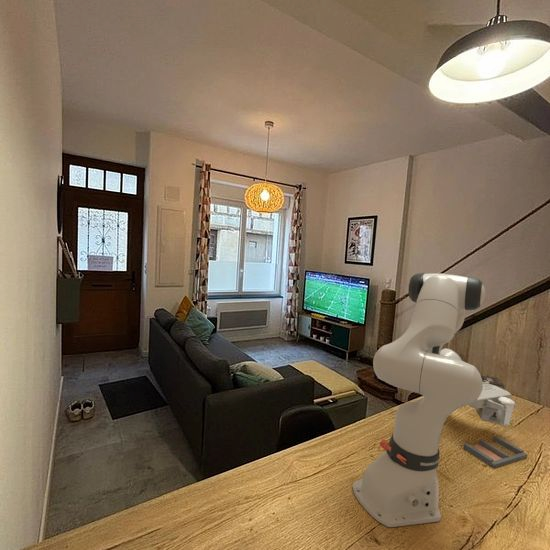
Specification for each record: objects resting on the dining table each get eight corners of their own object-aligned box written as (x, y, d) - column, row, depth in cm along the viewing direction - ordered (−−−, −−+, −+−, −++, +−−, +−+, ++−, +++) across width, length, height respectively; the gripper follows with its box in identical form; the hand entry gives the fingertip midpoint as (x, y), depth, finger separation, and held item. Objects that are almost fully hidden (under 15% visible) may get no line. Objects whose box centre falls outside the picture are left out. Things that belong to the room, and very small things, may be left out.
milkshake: (516, 429, 105) (521, 400, 104) (498, 425, 106) (503, 397, 106) (509, 422, 110) (513, 394, 109) (492, 419, 111) (496, 391, 110)
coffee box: (475, 410, 138) (480, 374, 136) (492, 413, 136) (497, 377, 134) (481, 420, 129) (487, 382, 128) (500, 424, 127) (505, 385, 126)
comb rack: (493, 468, 98) (494, 462, 98) (463, 448, 108) (463, 443, 108) (526, 457, 105) (527, 452, 105) (495, 440, 115) (496, 435, 115)
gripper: (452, 384, 115) (491, 402, 102) (488, 379, 123) (528, 395, 110) (449, 400, 115) (488, 420, 103) (485, 395, 123) (525, 413, 111)
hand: (509, 407), depth 107 cm, fingers closed on milkshake, 4 cm apart
